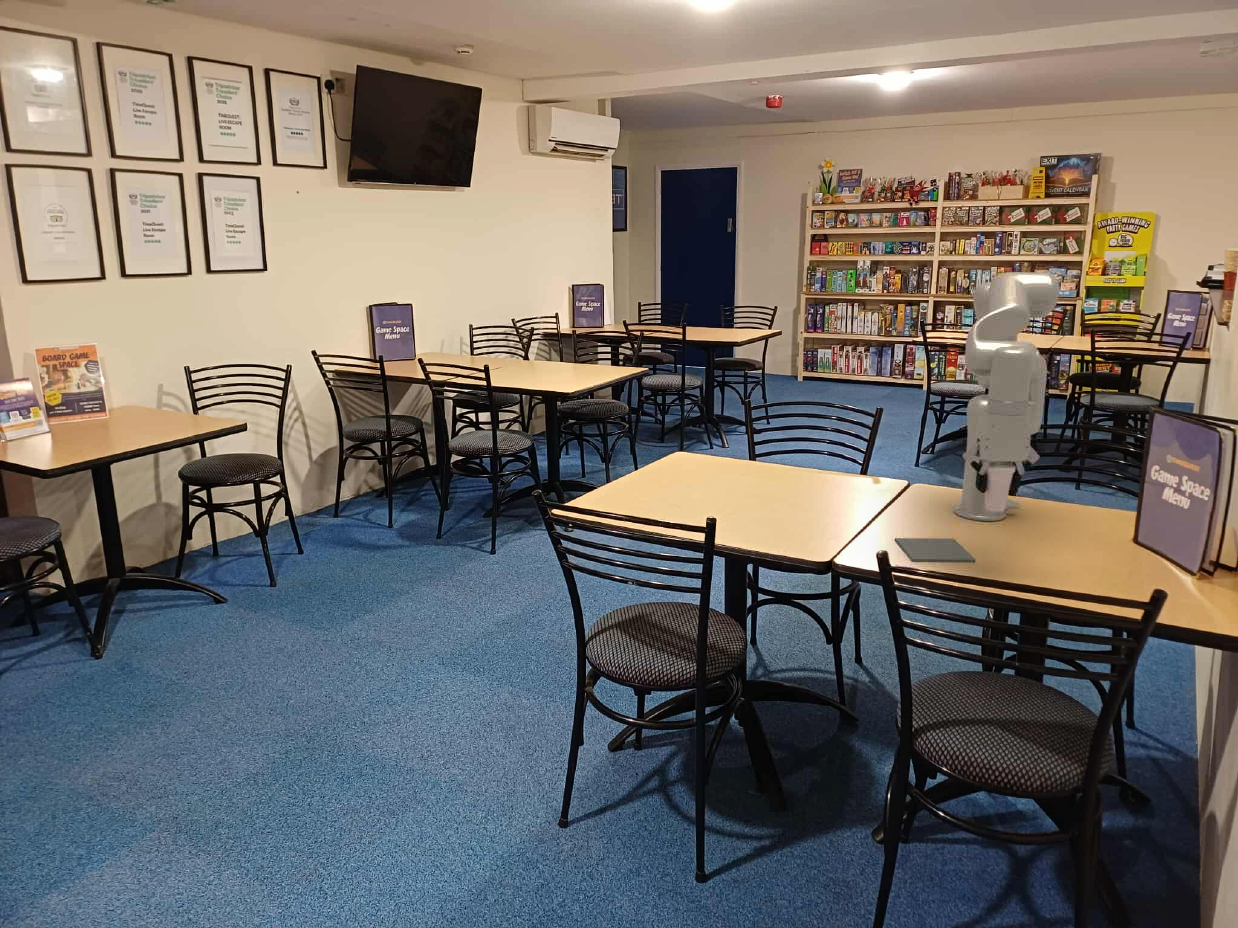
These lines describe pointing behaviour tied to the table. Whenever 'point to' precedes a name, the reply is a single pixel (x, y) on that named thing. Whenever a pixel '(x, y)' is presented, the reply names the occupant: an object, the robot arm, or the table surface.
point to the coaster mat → (934, 550)
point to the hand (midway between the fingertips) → (997, 490)
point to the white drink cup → (998, 485)
